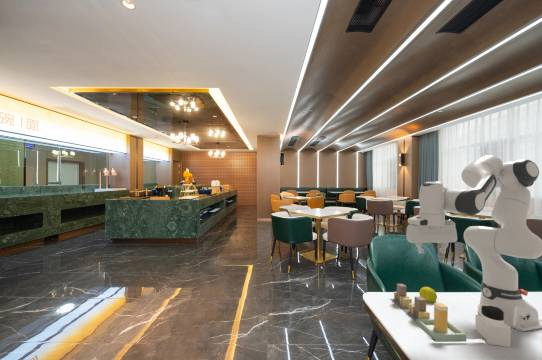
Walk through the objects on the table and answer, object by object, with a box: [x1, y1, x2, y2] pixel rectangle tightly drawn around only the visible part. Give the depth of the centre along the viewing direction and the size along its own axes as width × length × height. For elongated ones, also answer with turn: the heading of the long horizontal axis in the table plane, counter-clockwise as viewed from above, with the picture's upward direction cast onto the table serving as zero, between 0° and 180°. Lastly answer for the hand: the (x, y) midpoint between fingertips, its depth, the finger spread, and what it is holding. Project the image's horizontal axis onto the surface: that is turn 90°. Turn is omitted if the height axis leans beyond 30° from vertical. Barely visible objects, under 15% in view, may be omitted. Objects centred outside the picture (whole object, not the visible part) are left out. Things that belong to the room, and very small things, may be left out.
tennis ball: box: [418, 286, 438, 303], centre depth 115 cm, size 7×7×7 cm
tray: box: [415, 318, 467, 343], centre depth 90 cm, size 12×10×3 cm
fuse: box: [433, 302, 449, 333], centre depth 90 cm, size 3×3×10 cm
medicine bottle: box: [474, 305, 512, 348], centre depth 87 cm, size 7×7×12 cm
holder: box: [389, 283, 432, 323], centre depth 105 cm, size 19×8×9 cm, turn 3°
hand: (431, 253), depth 98 cm, fingers open, 8 cm apart
